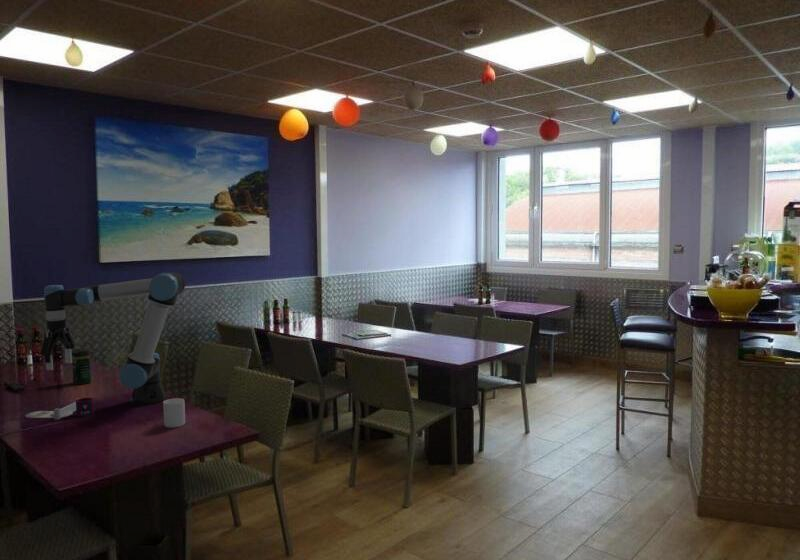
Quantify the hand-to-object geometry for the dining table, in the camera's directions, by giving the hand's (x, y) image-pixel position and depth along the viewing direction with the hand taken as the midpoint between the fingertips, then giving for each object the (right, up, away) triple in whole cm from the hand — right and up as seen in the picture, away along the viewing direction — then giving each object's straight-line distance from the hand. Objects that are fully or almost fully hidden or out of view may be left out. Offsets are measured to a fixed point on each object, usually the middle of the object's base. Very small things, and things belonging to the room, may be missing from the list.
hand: (59, 366), depth 268 cm
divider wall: (+5, -21, -2) cm, 21 cm away
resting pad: (-2, -21, -4) cm, 21 cm away
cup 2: (+58, -22, -17) cm, 64 cm away
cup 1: (+13, -21, -2) cm, 25 cm away
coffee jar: (-18, -17, +53) cm, 58 cm away
